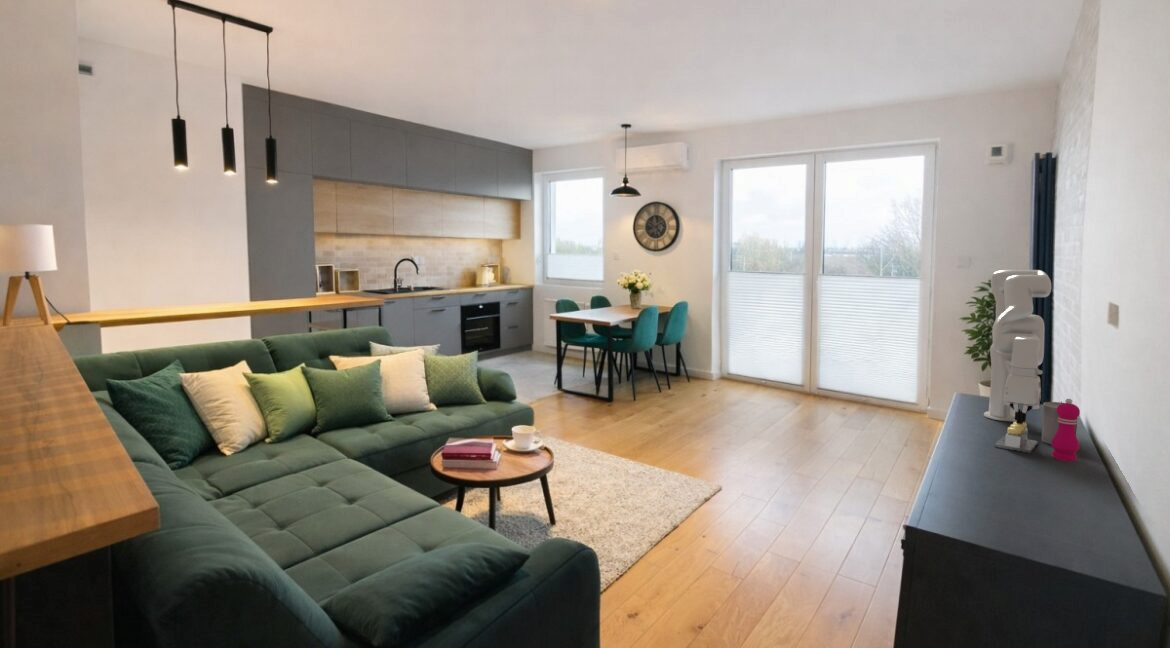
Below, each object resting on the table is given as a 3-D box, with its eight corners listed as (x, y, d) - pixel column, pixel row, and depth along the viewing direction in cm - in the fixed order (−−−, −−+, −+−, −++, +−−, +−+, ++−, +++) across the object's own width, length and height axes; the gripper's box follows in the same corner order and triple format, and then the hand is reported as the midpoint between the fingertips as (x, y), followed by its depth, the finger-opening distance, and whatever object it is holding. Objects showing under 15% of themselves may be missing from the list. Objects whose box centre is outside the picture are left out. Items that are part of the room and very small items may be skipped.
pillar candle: (1076, 442, 216) (1079, 400, 215) (1074, 448, 209) (1076, 405, 208) (1042, 437, 223) (1045, 396, 221) (1039, 443, 216) (1041, 401, 214)
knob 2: (1007, 441, 213) (1008, 426, 212) (1021, 444, 210) (1022, 428, 209) (1005, 444, 210) (1006, 428, 209) (1019, 447, 207) (1020, 431, 207)
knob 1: (1010, 439, 216) (1011, 423, 216) (1024, 441, 213) (1025, 425, 213) (1008, 441, 213) (1009, 426, 213) (1022, 444, 211) (1023, 428, 210)
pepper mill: (1068, 455, 203) (1073, 396, 201) (1083, 462, 196) (1089, 401, 194) (1045, 454, 204) (1049, 396, 201) (1059, 461, 197) (1064, 401, 194)
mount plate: (1003, 438, 222) (1004, 424, 221) (1037, 443, 215) (1038, 430, 214) (994, 446, 212) (995, 433, 211) (1029, 453, 205) (1030, 438, 204)
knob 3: (1013, 436, 219) (1014, 421, 219) (1026, 438, 217) (1027, 423, 216) (1010, 438, 217) (1012, 423, 216) (1024, 441, 214) (1025, 425, 213)
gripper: (1052, 373, 211) (1047, 424, 214) (1000, 367, 222) (997, 416, 224) (1048, 376, 206) (1044, 429, 208) (996, 370, 216) (992, 421, 219)
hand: (1019, 422), depth 216 cm, fingers closed
